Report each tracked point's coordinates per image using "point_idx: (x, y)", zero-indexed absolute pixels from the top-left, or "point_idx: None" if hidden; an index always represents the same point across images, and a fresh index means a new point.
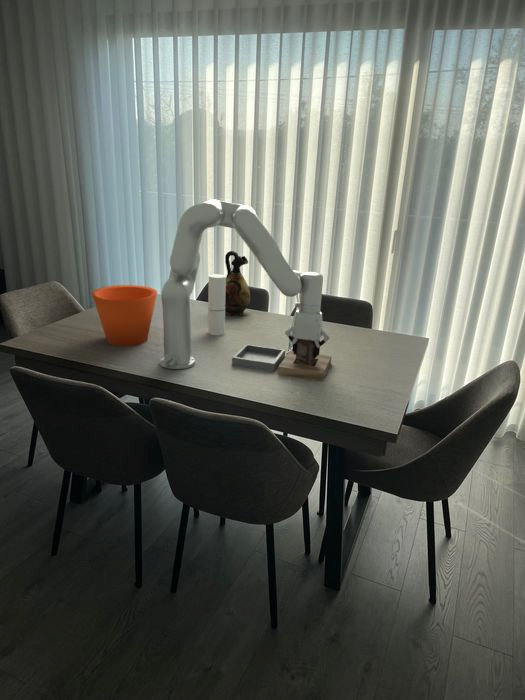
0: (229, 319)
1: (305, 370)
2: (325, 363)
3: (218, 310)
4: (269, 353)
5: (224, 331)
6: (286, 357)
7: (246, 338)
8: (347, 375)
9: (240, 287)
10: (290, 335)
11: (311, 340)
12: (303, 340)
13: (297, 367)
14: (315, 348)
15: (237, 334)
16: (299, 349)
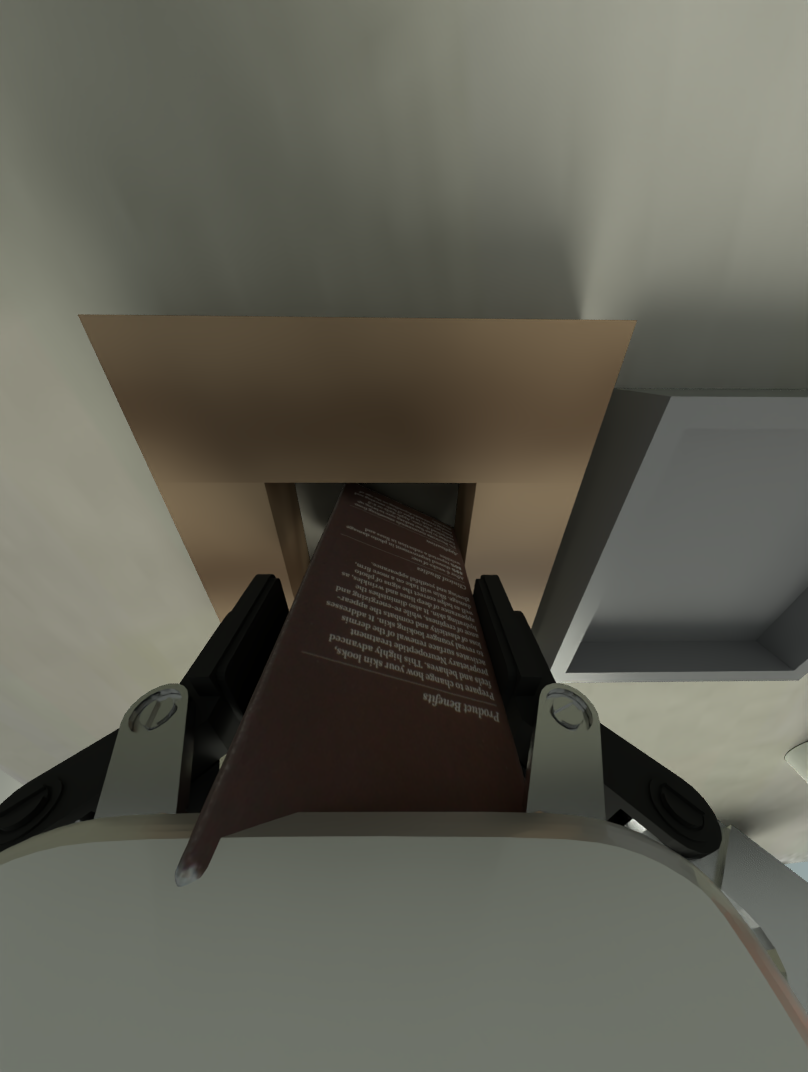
0: (722, 818)
1: (301, 321)
2: (217, 576)
3: None
4: (623, 642)
5: (798, 761)
6: (537, 580)
7: (698, 740)
8: (82, 527)
9: None
10: (700, 867)
11: (172, 829)
12: (403, 785)
13: (412, 386)
14: (215, 664)
15: (729, 756)
16: (446, 629)
